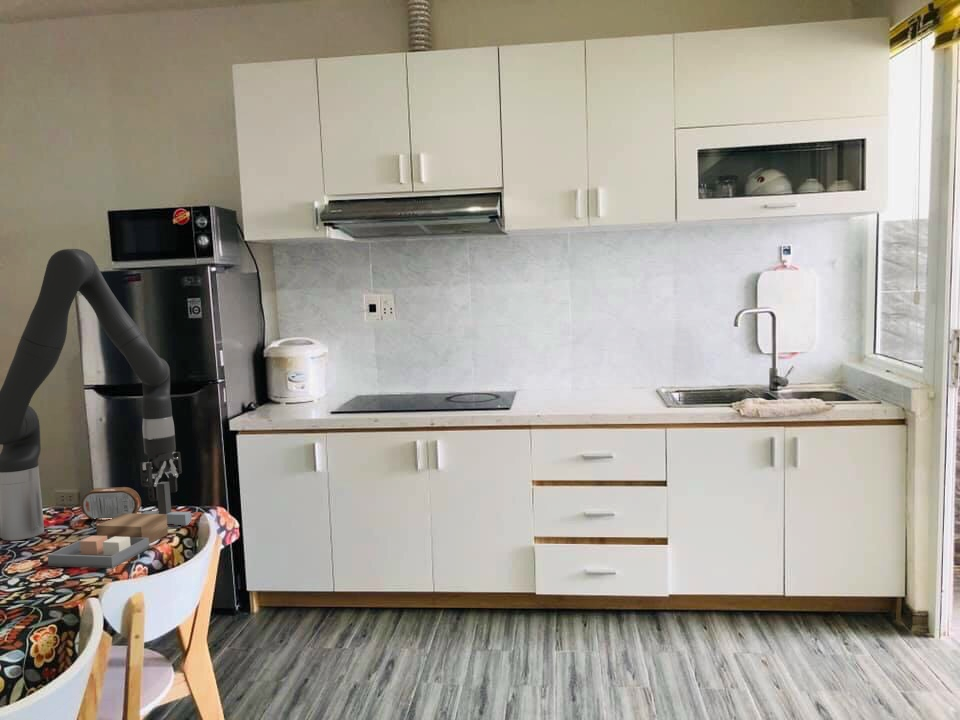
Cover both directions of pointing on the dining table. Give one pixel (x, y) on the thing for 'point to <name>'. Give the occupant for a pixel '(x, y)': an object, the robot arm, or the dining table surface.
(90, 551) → the tile
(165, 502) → the grey t-shaped tool
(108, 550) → the tile
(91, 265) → the robot arm
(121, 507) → the tin
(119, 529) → the tan slab
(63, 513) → the dining table surface
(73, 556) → the box
